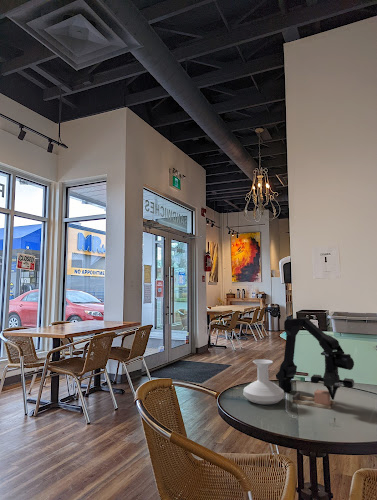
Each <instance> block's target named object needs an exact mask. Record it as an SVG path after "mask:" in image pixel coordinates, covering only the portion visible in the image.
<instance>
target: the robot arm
mask: <svg viewBox="0 0 377 500" xmlns="http://www.w3.org/2000/svg"><path fill="white" fill-rule="evenodd" d="M283 324H284V326H283V329H284V332H285V334H286V337H285V345H284V346H285V347H284V356H283V361H282V362H281V364H280V367H279V371H278V372H277V373H276V374H275V379H276V380H278V386H279V387H280V388H281V389H283V390H284V393H288V394H289V393H291V392H292V391H294V387H293V385H294V384H293V383H294V382H293V380H294V378H295V376H296V374H297V368H298V366H297V365H295V362H294V359H295V358H294V357H295V347H296V339H297V335H298V334H299V332H300V329H301V327H302V328H303V329H305V330H306V331H307V332H308V333H309V334H310V335H312V337H313V338H315V339H316V340H317V341H318V345H319V346H320V347H321V349H322V350H323V351H322V352H321V353H320V355H321V356H324V373H323V375H322V374H313V375H311V377H310V383H313V384H318V383H319V382H321V383H323V385H322V386H324V387H325V388H326V389H327V391H329V393H330V399H331V401H334V400H335V398H336V394H337V390H338V389H339V388H341V386H342V385H343V386H344V388H348V389H349V388H350V389H353V388H354V387H355V380H354V379H353V378H347V377H346V378H344V379H341V378H340V375H339V369H342V370H343V369H344V370H347V371H351V370H353V369H354V366H355V362H354V359H353V358H352V357H351V354H349V353H348V354H347V353H345V352H344V349H342V347H341V346H342V345H340V342H339V340H338V339H336V338H334V337H333V336H332V335H328V334H327V333H325V332H324V331H323V330H322V329H320V328H319V327H318V326H317V325H316V324H315V323H313V322H312V321H311V320H310V318H308V317H300V318H297V317H296V318H293V317H292V318H286V319H285V320H284V323H283Z"/></svg>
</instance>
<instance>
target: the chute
mask: <svg viewBox="0 0 377 500" xmlns="http://www.w3.org/2000/svg"><path fill="white" fill-rule="evenodd" d="M291 403H292V404H298V405H303V406H309V407H315V408H322V409H328V410H331V409H332V405H334V404H335V401H334V400H331V404H330V405H324V404H318V403H315V398H314V397H310V396H303V395H301V392H299V391H298V392H296V393H295V394H294V395H293V396H292V399H291Z"/></svg>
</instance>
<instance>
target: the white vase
mask: <svg viewBox="0 0 377 500" xmlns="http://www.w3.org/2000/svg"><path fill="white" fill-rule="evenodd" d="M252 363H253V364H255V365H256V367H257V368H256V370H257V380H254V381H252V382H251V383H249V384H248V385H247V386H245V387H244V388H243V390H242V391H243V396H244V397H245V398H246V399H247V400H248V401H249V402H251V403H254V404H258V405H274V404H277V403H279V402H280V401H282V400H283V399H284V398H285V392H284V390H283V389H281V388H280V387H279V384H278V385H277V384H276V383H274V382H273V381H271V380H270V378H269V366H270V365H271V364H273V363H274V362H273V360H270V359H265V358H263V359H261V358H260V359H253V360H252Z"/></svg>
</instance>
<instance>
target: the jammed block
mask: <svg viewBox="0 0 377 500" xmlns="http://www.w3.org/2000/svg"><path fill="white" fill-rule="evenodd" d="M313 394H314V395H313V396H314V397H313V398H315V401H314V403H318V404H324V405H330V406H331V405H332V404H331V401H332V399H331V396H330V393H329V391H328V390H323V389H316V390H315V391H314V393H313Z"/></svg>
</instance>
